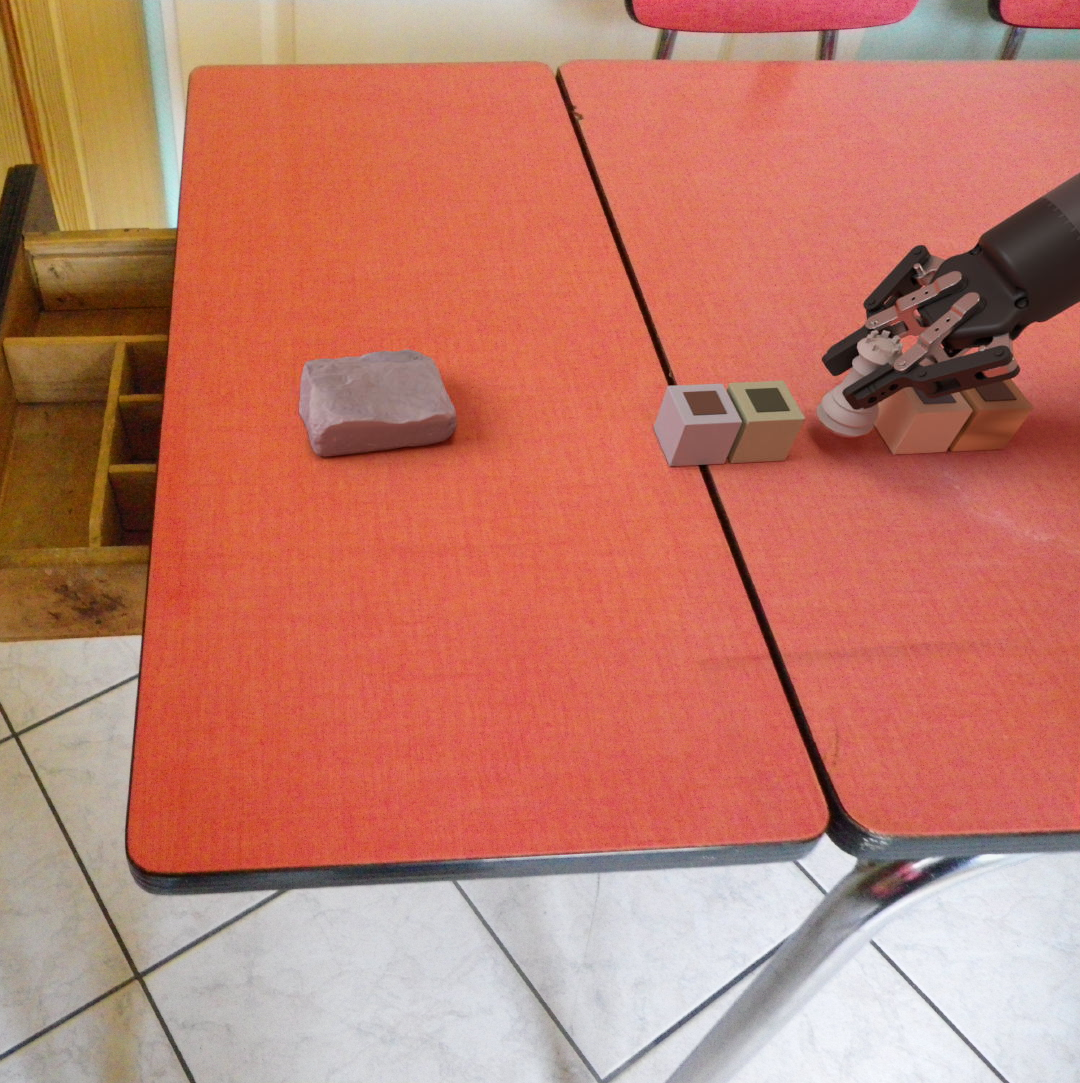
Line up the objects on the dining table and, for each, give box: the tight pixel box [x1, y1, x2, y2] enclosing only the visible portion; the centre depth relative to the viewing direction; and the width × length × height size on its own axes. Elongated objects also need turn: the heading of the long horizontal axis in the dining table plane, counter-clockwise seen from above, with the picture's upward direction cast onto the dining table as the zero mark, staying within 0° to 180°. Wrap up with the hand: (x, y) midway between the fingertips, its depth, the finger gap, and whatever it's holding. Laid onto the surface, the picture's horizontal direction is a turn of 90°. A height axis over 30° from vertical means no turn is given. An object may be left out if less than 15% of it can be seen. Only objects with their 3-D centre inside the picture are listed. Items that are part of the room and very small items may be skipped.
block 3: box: [874, 387, 973, 456], centre depth 79 cm, size 4×4×5 cm
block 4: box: [948, 379, 1034, 452], centre depth 80 cm, size 4×4×5 cm
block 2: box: [726, 380, 806, 464], centre depth 78 cm, size 4×4×5 cm
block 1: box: [653, 382, 742, 467], centre depth 78 cm, size 4×4×5 cm
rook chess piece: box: [816, 330, 904, 438], centre depth 76 cm, size 4×4×8 cm
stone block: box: [298, 348, 458, 458], centre depth 80 cm, size 12×5×10 cm
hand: (838, 384), depth 76 cm, fingers closed on rook chess piece, 3 cm apart
